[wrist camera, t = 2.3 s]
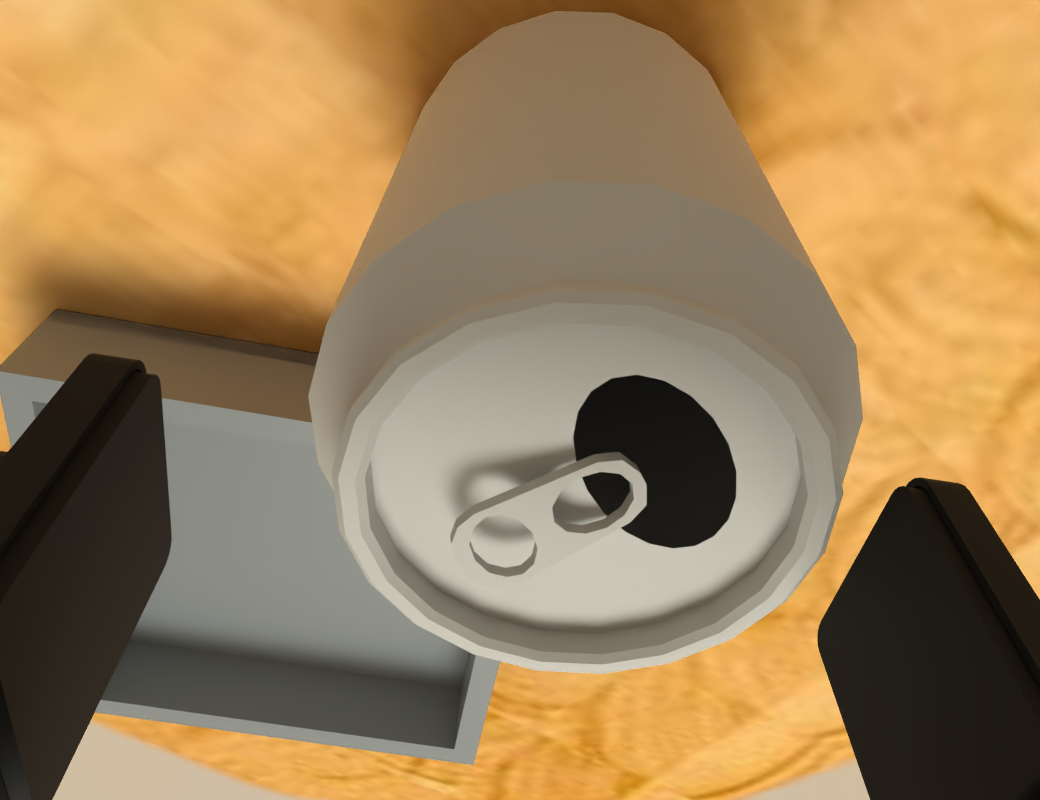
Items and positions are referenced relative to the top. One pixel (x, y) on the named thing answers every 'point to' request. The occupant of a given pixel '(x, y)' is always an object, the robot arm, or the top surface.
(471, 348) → the can
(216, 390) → the bin
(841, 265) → the top surface
